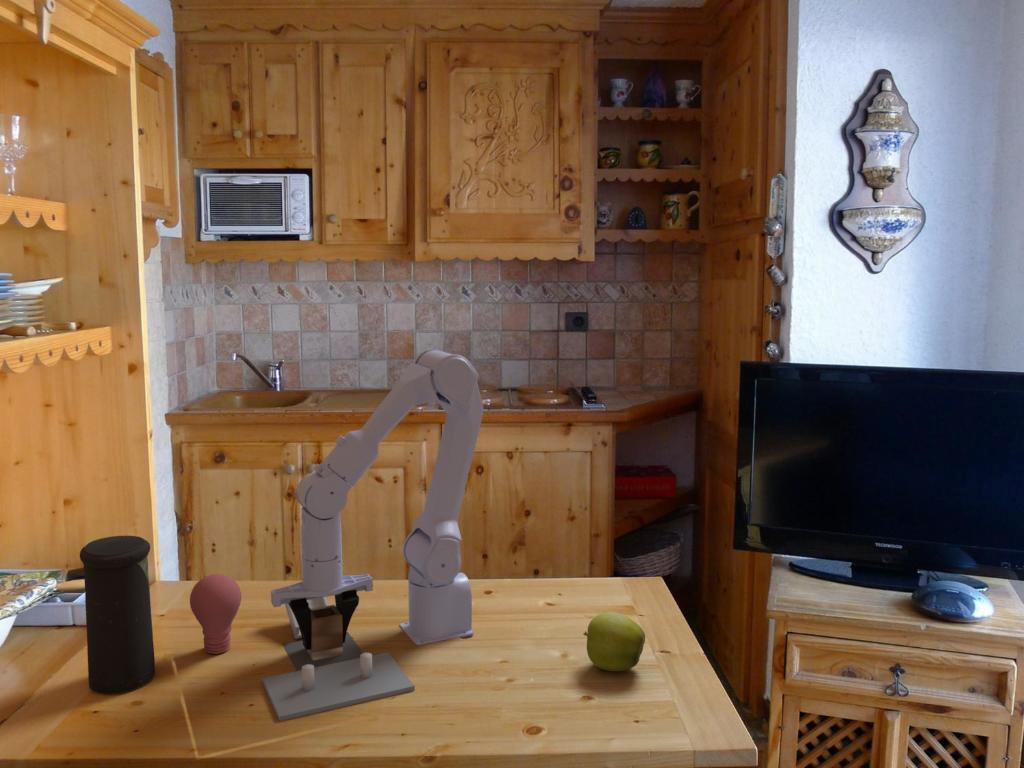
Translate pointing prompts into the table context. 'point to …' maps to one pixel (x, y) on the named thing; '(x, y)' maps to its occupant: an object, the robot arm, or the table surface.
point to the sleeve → (326, 632)
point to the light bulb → (215, 609)
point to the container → (118, 614)
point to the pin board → (335, 685)
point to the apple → (614, 641)
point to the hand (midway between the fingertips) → (324, 643)
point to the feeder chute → (312, 604)
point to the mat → (302, 658)
